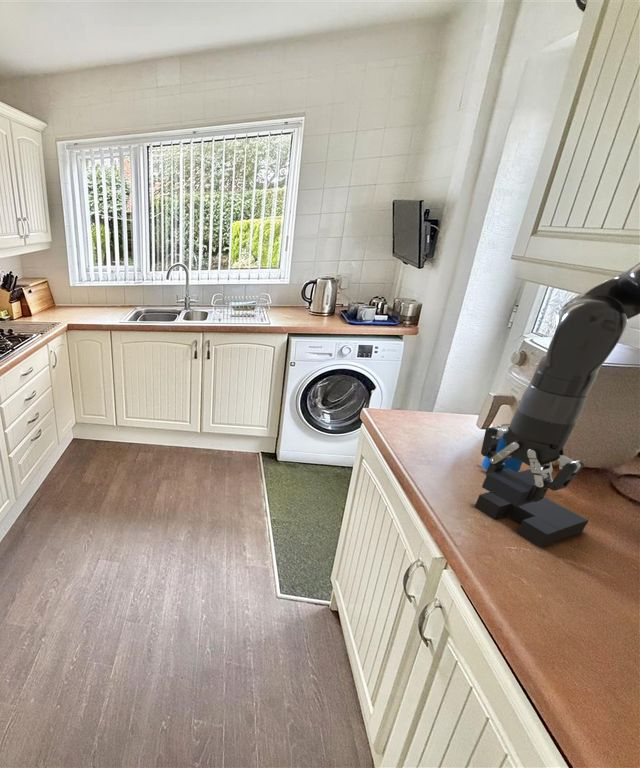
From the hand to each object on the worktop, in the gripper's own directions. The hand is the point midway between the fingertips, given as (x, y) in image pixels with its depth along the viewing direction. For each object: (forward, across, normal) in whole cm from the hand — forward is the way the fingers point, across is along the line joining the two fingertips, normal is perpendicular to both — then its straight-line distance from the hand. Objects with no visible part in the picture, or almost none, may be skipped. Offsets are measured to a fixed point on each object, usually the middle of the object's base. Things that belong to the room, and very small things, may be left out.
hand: (510, 489), depth 77 cm
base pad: (+10, 0, -10) cm, 14 cm away
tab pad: (+1, 0, -2) cm, 2 cm away
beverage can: (+10, +13, -22) cm, 27 cm away
